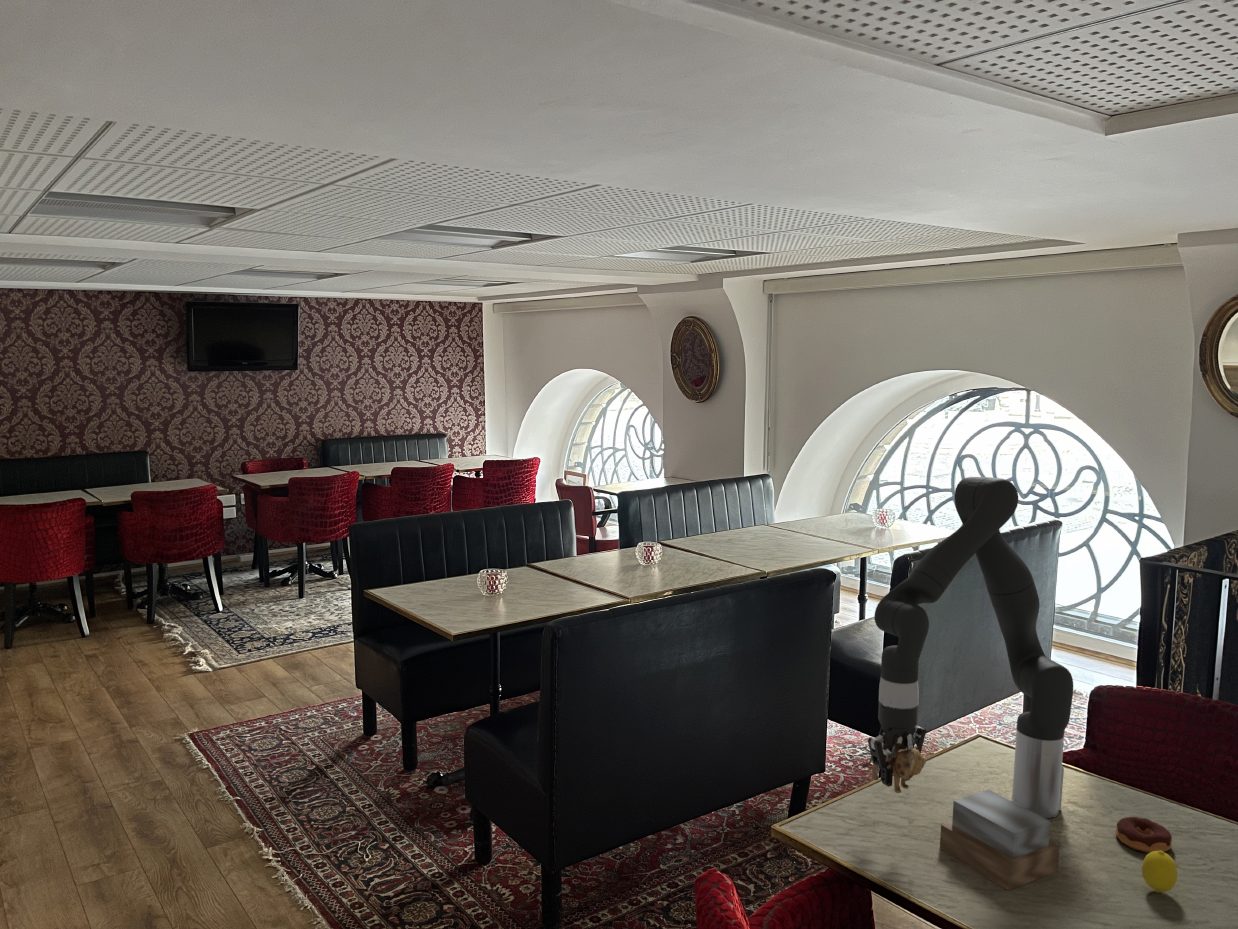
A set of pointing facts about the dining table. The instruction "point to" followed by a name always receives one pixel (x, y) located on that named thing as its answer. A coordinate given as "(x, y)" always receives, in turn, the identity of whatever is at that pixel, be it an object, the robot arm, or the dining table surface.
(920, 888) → the dining table surface
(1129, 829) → the donut
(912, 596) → the robot arm
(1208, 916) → the dining table surface
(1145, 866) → the lemon
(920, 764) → the lion figurine
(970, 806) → the two-tone block
